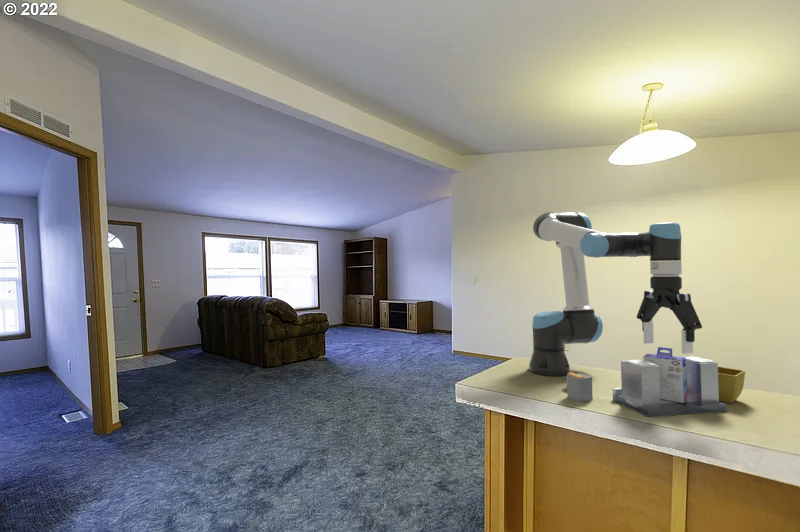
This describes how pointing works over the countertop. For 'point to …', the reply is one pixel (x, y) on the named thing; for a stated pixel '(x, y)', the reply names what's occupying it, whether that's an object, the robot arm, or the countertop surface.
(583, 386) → the block
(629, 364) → the rail board
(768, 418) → the countertop surface
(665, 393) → the ink cartridge box
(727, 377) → the flower pot
